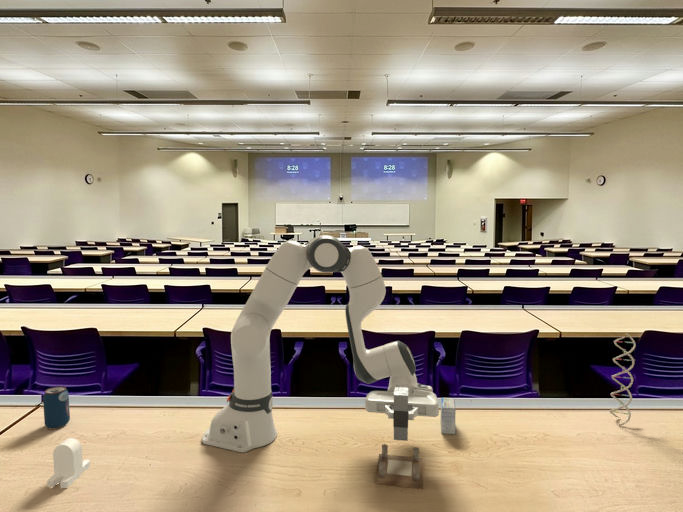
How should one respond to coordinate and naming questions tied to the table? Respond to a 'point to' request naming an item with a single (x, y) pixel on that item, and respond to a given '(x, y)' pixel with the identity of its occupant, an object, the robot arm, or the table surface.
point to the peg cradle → (399, 469)
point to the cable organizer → (67, 463)
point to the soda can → (56, 407)
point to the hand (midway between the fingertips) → (400, 416)
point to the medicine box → (448, 415)
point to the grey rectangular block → (400, 414)
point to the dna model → (624, 377)
